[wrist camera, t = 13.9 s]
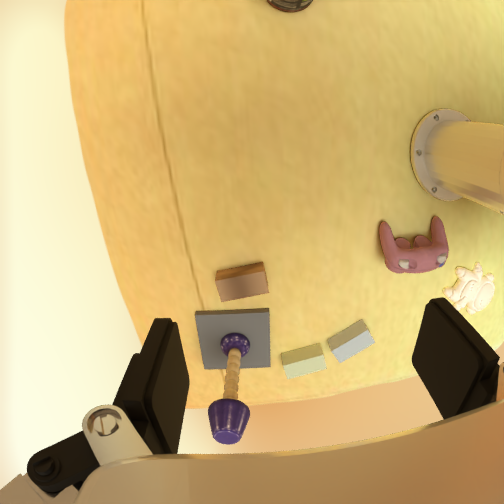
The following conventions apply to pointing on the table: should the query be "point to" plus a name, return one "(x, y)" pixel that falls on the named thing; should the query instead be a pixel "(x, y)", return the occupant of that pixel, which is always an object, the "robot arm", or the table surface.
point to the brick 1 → (241, 282)
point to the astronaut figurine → (471, 289)
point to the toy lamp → (230, 394)
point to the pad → (234, 321)
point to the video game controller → (415, 250)
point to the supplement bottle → (290, 4)
